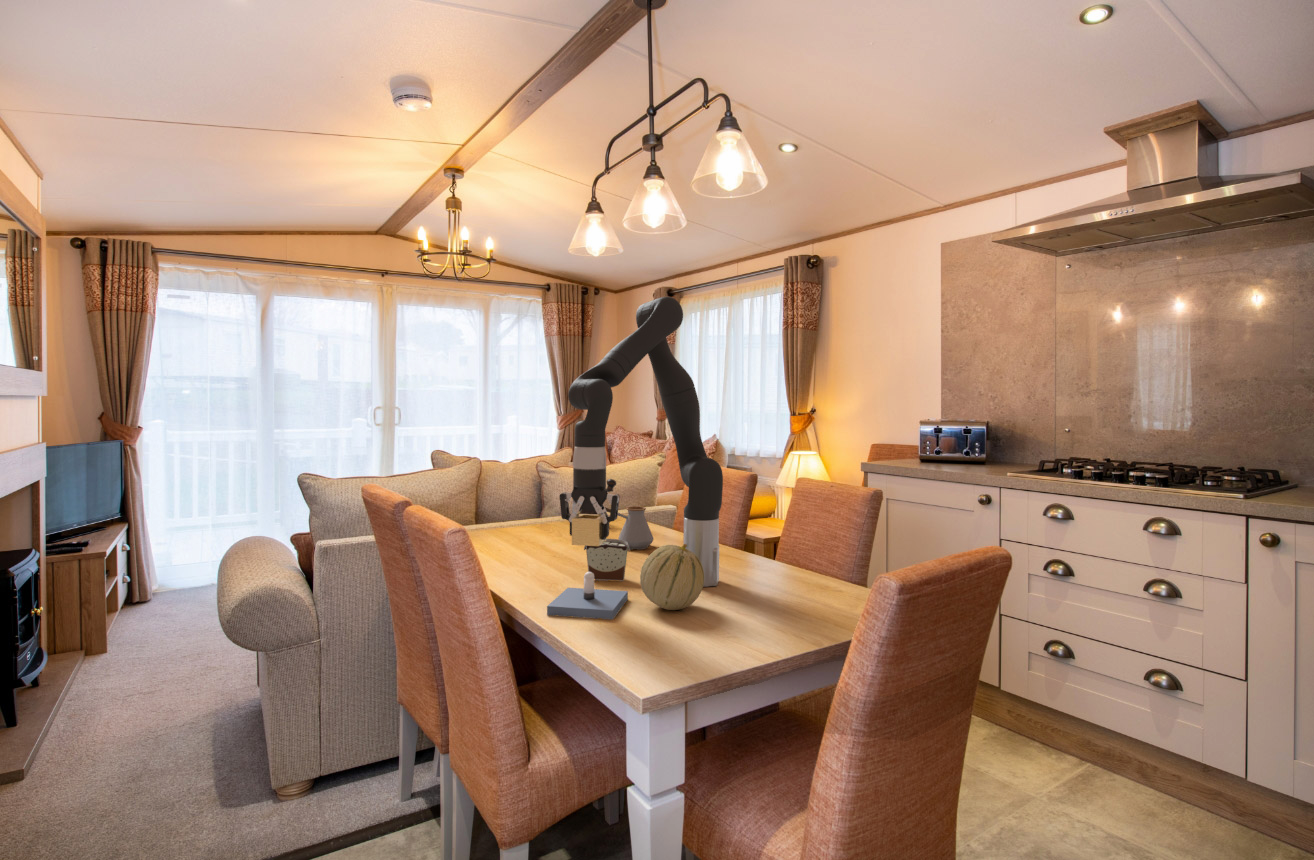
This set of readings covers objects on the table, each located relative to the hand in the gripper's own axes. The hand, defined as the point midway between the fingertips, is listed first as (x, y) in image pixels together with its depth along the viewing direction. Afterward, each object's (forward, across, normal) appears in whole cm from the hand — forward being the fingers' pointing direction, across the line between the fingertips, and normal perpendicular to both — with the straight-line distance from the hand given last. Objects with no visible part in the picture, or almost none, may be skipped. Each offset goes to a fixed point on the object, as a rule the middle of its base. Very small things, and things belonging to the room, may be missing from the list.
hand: (589, 538), depth 154 cm
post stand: (+16, 0, 0) cm, 16 cm away
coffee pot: (+16, +7, -62) cm, 64 cm away
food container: (+16, +2, -26) cm, 31 cm away
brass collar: (+1, 0, 0) cm, 1 cm away
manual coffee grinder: (+16, +26, -98) cm, 103 cm away
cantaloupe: (+16, -19, -3) cm, 25 cm away
